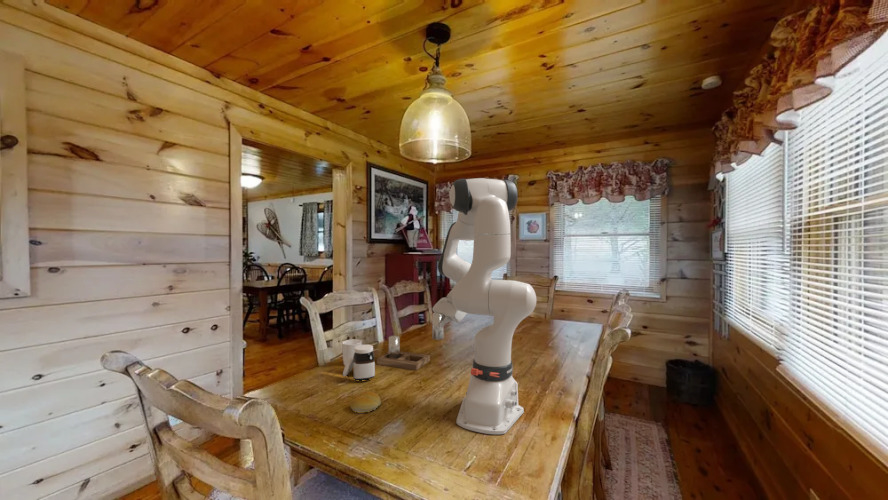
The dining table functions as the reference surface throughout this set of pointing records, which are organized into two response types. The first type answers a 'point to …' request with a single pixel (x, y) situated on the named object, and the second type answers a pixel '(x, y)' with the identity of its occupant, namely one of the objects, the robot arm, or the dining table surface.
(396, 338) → the cylinder
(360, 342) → the white cup
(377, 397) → the bread roll
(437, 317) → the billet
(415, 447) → the dining table surface
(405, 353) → the wooden divided tray
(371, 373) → the spread jar
